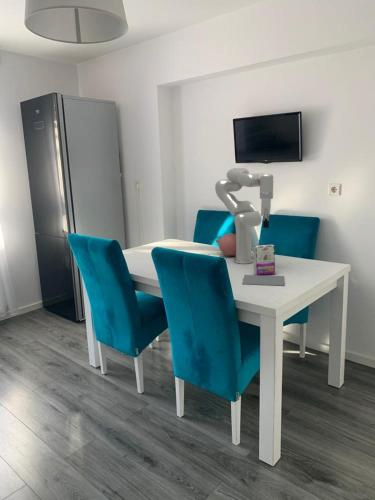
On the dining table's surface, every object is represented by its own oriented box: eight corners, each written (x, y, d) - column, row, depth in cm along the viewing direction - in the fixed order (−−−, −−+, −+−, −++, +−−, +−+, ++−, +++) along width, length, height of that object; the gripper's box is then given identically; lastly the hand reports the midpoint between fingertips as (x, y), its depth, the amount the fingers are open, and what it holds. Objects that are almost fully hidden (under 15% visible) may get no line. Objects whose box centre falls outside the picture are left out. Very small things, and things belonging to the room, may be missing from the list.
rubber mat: (244, 275, 230) (244, 274, 230) (284, 276, 225) (284, 276, 225) (242, 284, 213) (242, 283, 213) (284, 286, 209) (284, 285, 209)
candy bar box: (271, 272, 234) (271, 244, 232) (275, 273, 229) (274, 245, 227) (253, 274, 232) (252, 245, 230) (256, 275, 227) (255, 246, 225)
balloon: (223, 251, 290) (223, 230, 287) (246, 255, 276) (246, 233, 273) (209, 255, 280) (209, 233, 276) (232, 259, 266) (232, 236, 262)
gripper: (260, 194, 239) (259, 225, 243) (259, 197, 225) (258, 229, 229) (273, 194, 238) (272, 225, 242) (272, 197, 224) (272, 229, 227)
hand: (265, 227), depth 235 cm, fingers closed
